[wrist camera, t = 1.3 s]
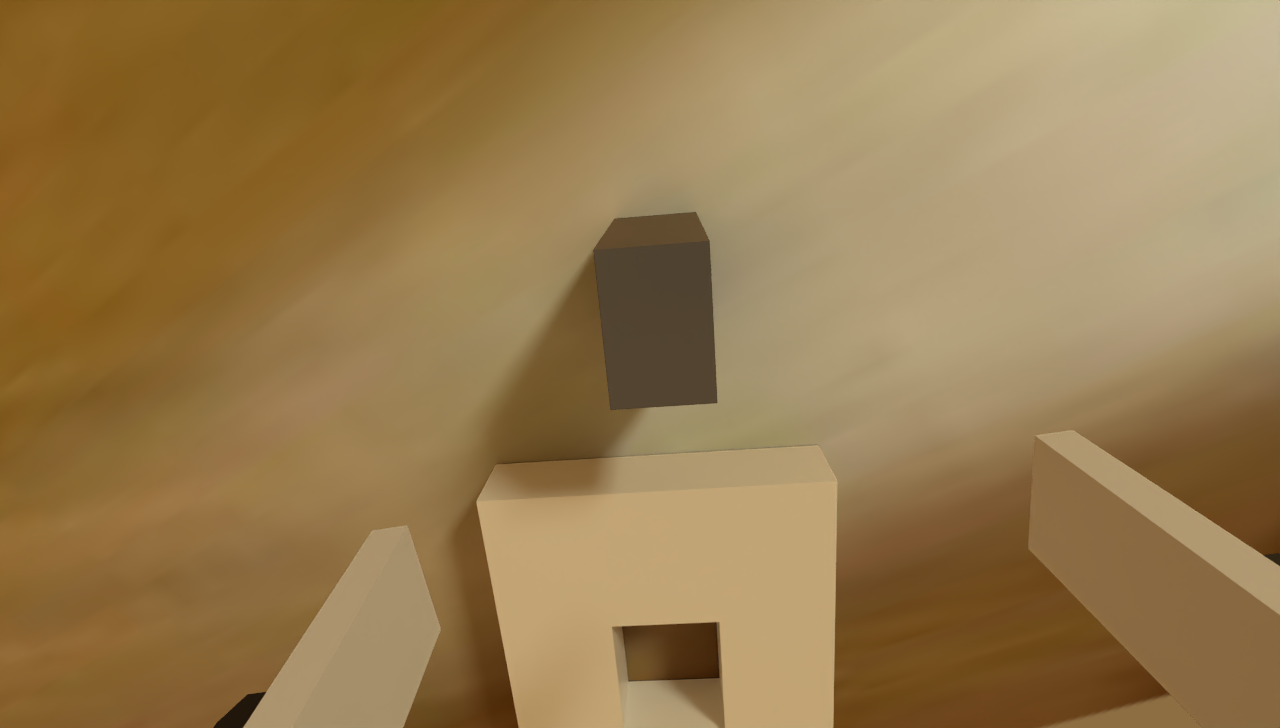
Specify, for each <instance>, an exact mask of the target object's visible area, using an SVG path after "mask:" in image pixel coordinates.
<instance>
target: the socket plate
mask: <svg viewBox="0 0 1280 728" xmlns="http://www.w3.org/2000/svg"><path fill="white" fill-rule="evenodd" d="M476 503H477V508H478V514H479V519H480V524H481V530H482V535H483V540H484V546H485V551H486V556H487V562H488V567H489V572H490V577H491V583H492V588H493V593H494V599H495V604H496V609H497V615H498V620H499V625H500V631H501V636H502V641H503V647H504V652H505V657H506V663H507V668H508V673H509V679H510V684H511V689H512V694H513V700H514V705H515V710H516V716H517V721H518V726H519V728H833V709H834V649H835V589H836V530H837V480H836V478H835V476H834V474H833V472H832V470H831V468H830V466H829V464H828V462H827V460H826V458H825V457H824V455H823V453H822V451H821V449H820V447H819V445H812V446H795V447H778V448H761V449H744V450H728V451H711V452H694V453H677V454H661V455H644V456H627V457H610V458H594V459H577V460H560V461H543V462H526V463H510V464H496V465H495V467H494V469H493V471H492V472H491V474H490V476H489V478H488V480H487V482H486V484H485V486H484V488H483V490H482V491H481V493H480V495H479V497H478V499H477V501H476ZM706 622H716V623H717V641H718V659H719V677H720V678H709V679H683V680H657V681H631V682H628V674H627V665H626V657H625V648H624V639H623V630H622V626H638V625H661V624H683V623H706Z"/></svg>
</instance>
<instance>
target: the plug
mask: <svg viewBox="0 0 1280 728" xmlns="http://www.w3.org/2000/svg"><path fill="white" fill-rule="evenodd" d="M594 260H595V269H596V278H597V288H598V297H599V307H600V316H601V325H602V335H603V344H604V354H605V363H606V372H607V382H608V391H609V401H610V410H616V409H632V408H648V407H663V406H679V405H695V404H711V403H717V386H716V365H715V344H714V324H713V303H712V282H711V262H710V241H709V239H708V237H707V235H706V232H705V230H704V228H703V226H702V224H701V222H700V220H699V218H698V216H697V214H696V212H690V213H678V214H666V215H654V216H641V217H629V218H617V219H614V220H613V222H612V223H611V225H610V226H609V228H608V229H607V231H606V232H605V234H604V235H603V237H602V238H601V239H600V241H599V242H598V244H597V245H596V247H595V248H594Z"/></svg>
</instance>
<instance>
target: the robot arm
mask: <svg viewBox="0 0 1280 728" xmlns="http://www.w3.org/2000/svg"><path fill="white" fill-rule="evenodd" d="M1028 549H1029V550H1030V551H1031V552H1032V553H1033V554H1034V555H1035V556H1036V557H1037V558H1038V559H1039V560H1040V561H1041V562H1042V563H1043V564H1044V565H1045V566H1046V567H1047V568H1048V569H1049V570H1050V571H1051V572H1052V573H1053V574H1054V575H1055V577H1056V578H1057V579H1058V580H1059V581H1060V582H1061V583H1062V584H1063V585H1064V586H1065V587H1066V588H1067V589H1068V590H1069V591H1070V592H1071V593H1072V594H1073V595H1074V596H1075V597H1076V598H1077V599H1078V600H1079V601H1080V602H1081V603H1082V604H1083V605H1084V606H1085V607H1086V608H1087V609H1088V610H1089V611H1090V612H1091V613H1092V615H1093V616H1094V617H1095V618H1096V619H1097V620H1098V621H1099V622H1100V623H1101V624H1102V625H1103V626H1104V627H1105V628H1106V629H1107V630H1108V631H1109V632H1110V633H1111V634H1112V635H1113V636H1114V637H1115V638H1116V639H1117V640H1118V641H1119V642H1120V643H1121V644H1122V645H1123V646H1124V647H1125V648H1126V649H1127V650H1128V652H1129V653H1130V654H1131V655H1132V656H1133V657H1134V658H1135V659H1136V660H1137V661H1138V662H1139V663H1140V664H1141V665H1142V666H1143V667H1144V668H1145V669H1146V670H1147V671H1148V672H1149V673H1150V674H1151V675H1152V676H1153V677H1154V678H1155V679H1156V680H1157V681H1158V682H1159V683H1160V684H1161V685H1162V686H1163V687H1164V689H1165V690H1166V691H1167V692H1168V693H1169V694H1170V695H1171V696H1172V697H1173V698H1174V699H1175V700H1176V701H1177V702H1178V703H1179V704H1180V705H1181V706H1182V707H1183V708H1184V709H1185V710H1186V711H1187V712H1188V713H1189V714H1190V715H1191V716H1192V717H1193V718H1194V719H1195V720H1196V721H1197V722H1198V723H1199V724H1200V725H1201V726H1202V727H1203V728H1280V554H1279V553H1276V554H1269V555H1262V554H1260V553H1259V552H1257V551H1256V550H1254V549H1253V548H1251V547H1250V546H1248V545H1247V544H1245V543H1244V542H1242V541H1241V540H1239V539H1238V538H1236V537H1235V536H1233V535H1232V534H1230V533H1228V532H1227V531H1225V530H1224V529H1222V528H1221V527H1219V526H1218V525H1216V524H1215V523H1213V522H1212V521H1210V520H1209V519H1207V518H1206V517H1204V516H1203V515H1201V514H1200V513H1198V512H1197V511H1195V510H1194V509H1192V508H1190V507H1189V506H1187V505H1186V504H1184V503H1183V502H1181V501H1180V500H1178V499H1177V498H1175V497H1174V496H1172V495H1171V494H1169V493H1168V492H1166V491H1165V490H1163V489H1162V488H1160V487H1159V486H1157V485H1156V484H1154V483H1152V482H1151V481H1149V480H1148V479H1146V478H1145V477H1143V476H1142V475H1140V474H1139V473H1137V472H1136V471H1134V470H1133V469H1131V468H1130V467H1128V466H1127V465H1125V464H1124V463H1122V462H1121V461H1119V460H1118V459H1116V458H1114V457H1113V456H1111V455H1110V454H1108V453H1107V452H1105V451H1104V450H1102V449H1101V448H1099V447H1098V446H1096V445H1095V444H1093V443H1092V442H1090V441H1089V440H1087V439H1086V438H1084V437H1083V436H1081V435H1079V434H1078V433H1076V432H1075V431H1073V430H1070V431H1063V432H1056V433H1049V434H1042V435H1035V442H1034V459H1033V476H1032V493H1031V510H1030V527H1029V544H1028ZM440 630H441V628H440V625H439V622H438V619H437V616H436V613H435V610H434V607H433V604H432V600H431V597H430V594H429V591H428V588H427V585H426V582H425V579H424V576H423V572H422V569H421V566H420V563H419V560H418V557H417V554H416V551H415V547H414V544H413V541H412V538H411V535H410V532H409V529H408V526H400V527H393V528H386V529H379V530H372V531H371V533H370V535H369V536H368V538H367V539H366V541H365V542H364V544H363V545H362V547H361V548H360V550H359V551H358V553H357V554H356V556H355V557H354V559H353V561H352V562H351V564H350V565H349V567H348V568H347V570H346V571H345V573H344V574H343V576H342V577H341V579H340V580H339V582H338V583H337V585H336V587H335V588H334V590H333V591H332V593H331V594H330V596H329V597H328V599H327V600H326V602H325V603H324V605H323V606H322V608H321V610H320V611H319V613H318V614H317V616H316V617H315V619H314V620H313V622H312V623H311V625H310V626H309V628H308V629H307V631H306V632H305V634H304V636H303V637H302V639H301V640H300V642H299V643H298V645H297V646H296V648H295V649H294V651H293V652H292V654H291V655H290V657H289V658H288V660H287V662H286V663H285V665H284V666H283V668H282V669H281V671H280V672H279V674H278V675H277V677H276V678H275V680H274V681H273V683H272V684H271V686H270V688H269V689H268V691H267V692H262V693H255V694H248V695H247V696H245V697H244V698H243V699H242V700H241V701H240V702H239V703H238V704H237V705H236V706H235V707H233V708H232V709H231V710H230V711H229V712H228V713H227V714H226V715H225V716H224V717H223V718H222V719H220V720H219V721H218V722H217V723H216V725H215V726H214V728H403V726H404V724H405V721H406V718H407V716H408V713H409V711H410V708H411V705H412V703H413V700H414V698H415V695H416V692H417V690H418V687H419V684H420V682H421V679H422V677H423V674H424V671H425V669H426V666H427V664H428V661H429V658H430V656H431V653H432V650H433V648H434V645H435V643H436V640H437V637H438V635H439V632H440Z"/></svg>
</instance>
